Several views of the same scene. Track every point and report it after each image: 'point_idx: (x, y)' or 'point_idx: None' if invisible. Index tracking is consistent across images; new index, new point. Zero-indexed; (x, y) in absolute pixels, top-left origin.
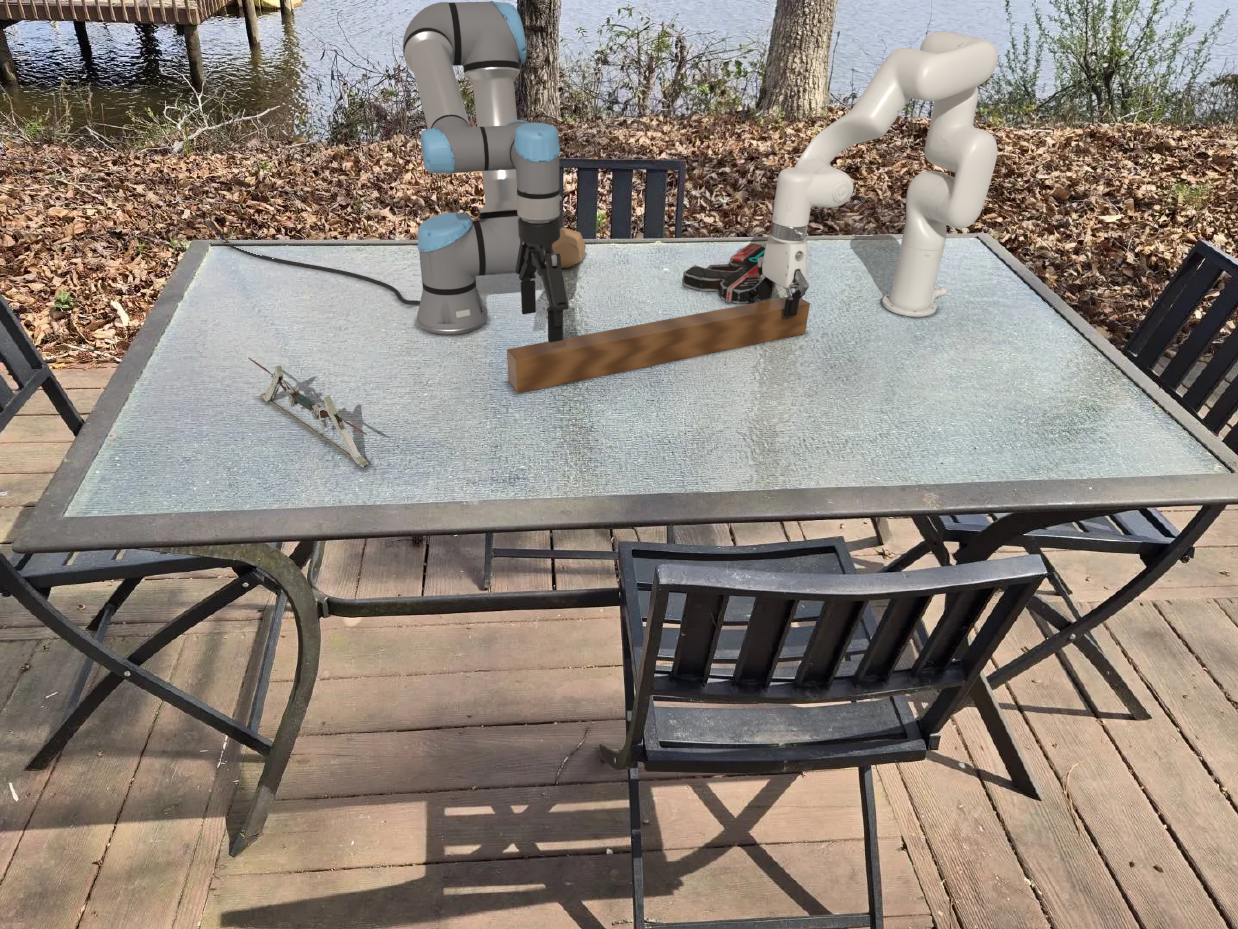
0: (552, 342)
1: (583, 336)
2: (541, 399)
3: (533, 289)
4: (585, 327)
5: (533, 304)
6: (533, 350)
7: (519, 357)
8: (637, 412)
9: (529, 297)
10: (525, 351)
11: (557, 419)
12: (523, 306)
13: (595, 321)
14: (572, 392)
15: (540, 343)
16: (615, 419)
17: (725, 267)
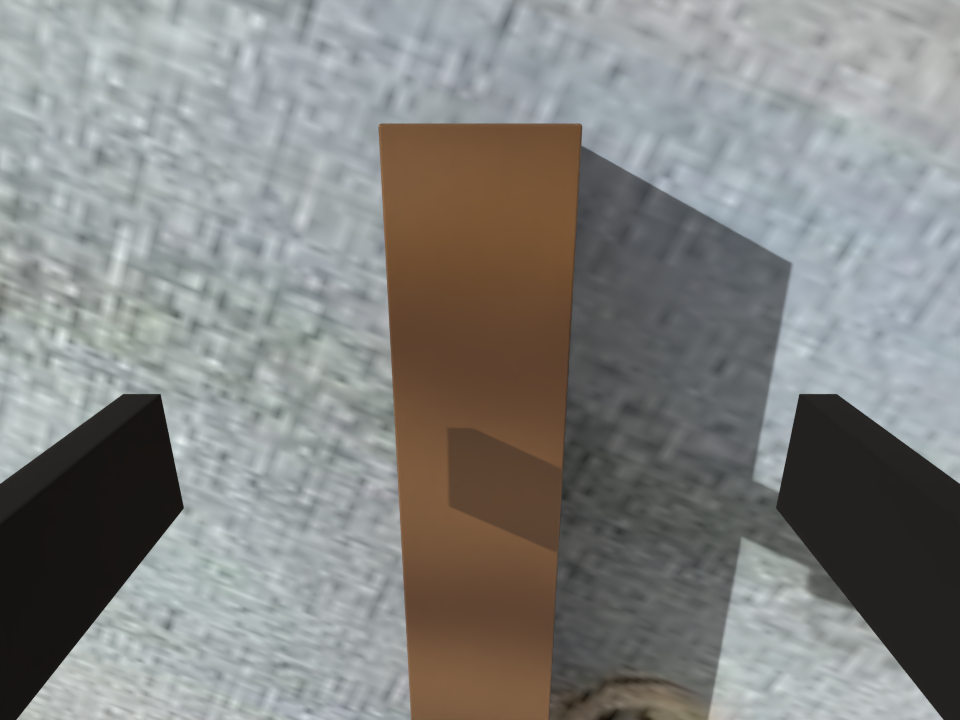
0: (538, 457)
1: (533, 632)
2: (311, 225)
3: (942, 688)
4: (875, 652)
5: (824, 540)
6: (479, 305)
7: (407, 167)
8: None
9: (888, 563)
10: (485, 246)
11: (96, 223)
12: (845, 439)
13: (898, 702)
14: (330, 385)
15: (559, 385)
16: None
17: None
